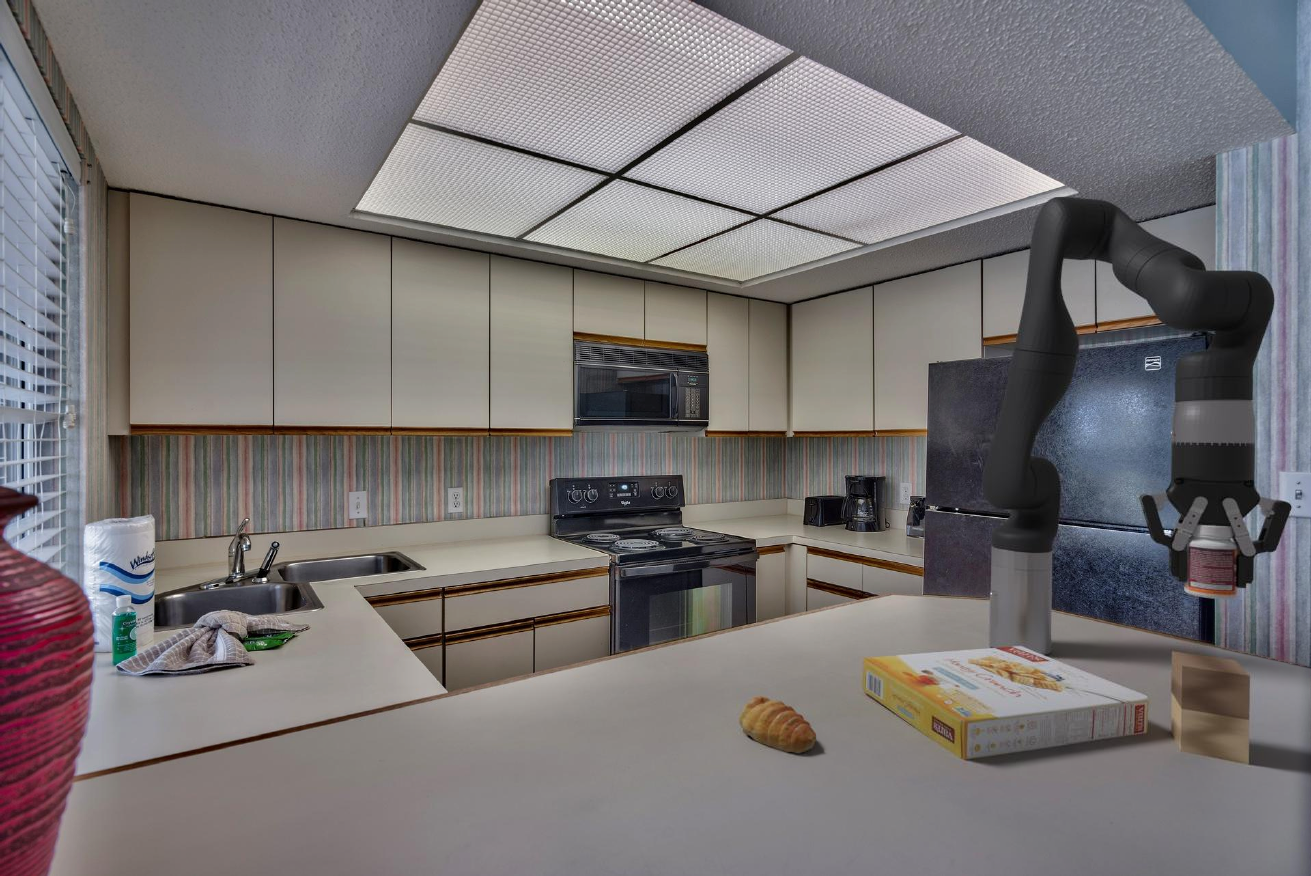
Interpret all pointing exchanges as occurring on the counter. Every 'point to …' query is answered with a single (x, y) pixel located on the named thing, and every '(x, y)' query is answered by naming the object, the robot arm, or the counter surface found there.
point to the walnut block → (1210, 685)
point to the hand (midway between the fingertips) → (1209, 583)
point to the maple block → (1210, 734)
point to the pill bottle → (1211, 563)
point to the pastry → (777, 725)
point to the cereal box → (1002, 700)
